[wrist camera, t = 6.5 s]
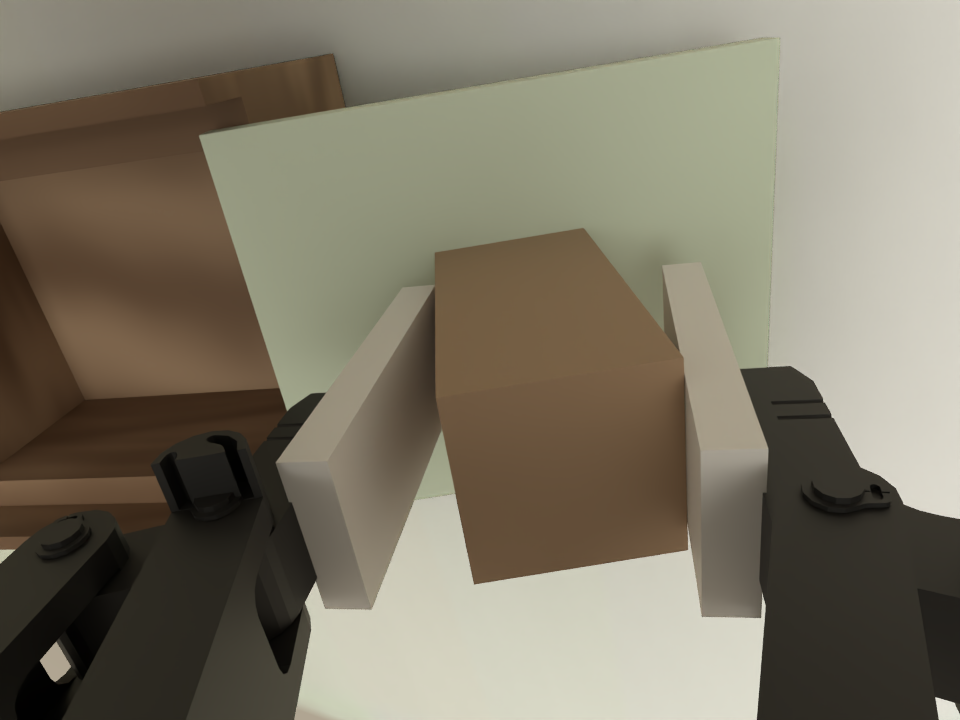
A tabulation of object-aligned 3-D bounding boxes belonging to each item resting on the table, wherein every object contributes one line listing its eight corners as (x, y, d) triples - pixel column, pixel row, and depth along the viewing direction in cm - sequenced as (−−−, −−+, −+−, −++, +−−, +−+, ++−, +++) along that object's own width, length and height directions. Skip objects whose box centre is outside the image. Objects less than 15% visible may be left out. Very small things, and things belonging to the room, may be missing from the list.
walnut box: (-52, 121, 23) (-317, 168, 16) (333, 53, 20) (197, 78, 13) (92, 422, 28) (-65, 549, 22) (414, 405, 25) (345, 547, 19)
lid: (209, 130, 15) (16, 215, 8) (763, 37, 15) (1055, 40, 8) (324, 497, 20) (263, 757, 13) (752, 428, 19) (932, 651, 12)
